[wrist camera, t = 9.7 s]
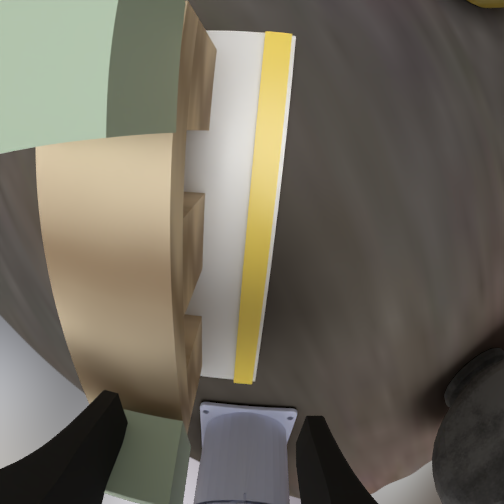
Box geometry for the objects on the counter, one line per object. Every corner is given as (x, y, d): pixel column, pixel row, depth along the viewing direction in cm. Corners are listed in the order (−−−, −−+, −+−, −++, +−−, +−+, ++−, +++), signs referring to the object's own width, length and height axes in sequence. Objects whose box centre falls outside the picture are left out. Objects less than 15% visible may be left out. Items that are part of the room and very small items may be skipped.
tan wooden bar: (202, 366, 18) (185, 442, 13) (129, 354, 18) (97, 421, 13) (216, 50, 12) (187, 0, 6) (118, 55, 12) (47, 28, 6)
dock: (255, 361, 21) (254, 384, 19) (99, 338, 21) (87, 357, 18) (291, 47, 13) (296, 34, 11) (85, 53, 13) (64, 47, 11)
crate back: (190, 446, 13) (181, 512, 10) (120, 432, 13) (105, 493, 10) (182, 421, 11) (168, 506, 8) (97, 402, 11) (74, 478, 8)
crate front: (176, 132, 8) (106, 138, 4) (59, 141, 8) (-36, 162, 4) (185, 2, 6) (135, -70, 2) (67, 26, 6) (-17, -2, 2)
